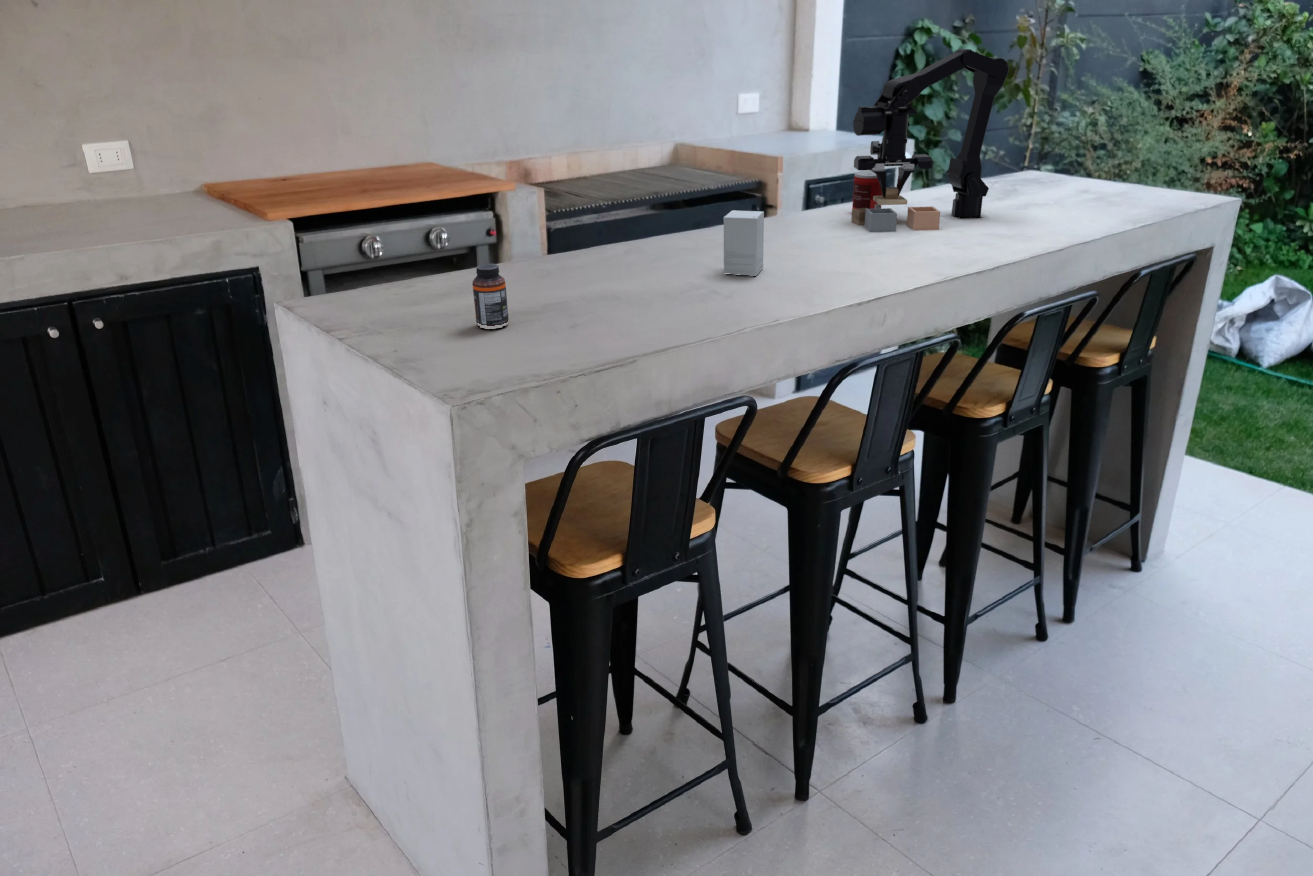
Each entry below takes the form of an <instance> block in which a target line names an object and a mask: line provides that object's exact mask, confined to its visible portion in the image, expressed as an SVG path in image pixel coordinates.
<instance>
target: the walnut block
mask: <svg viewBox="0 0 1313 876" xmlns="http://www.w3.org/2000/svg"><path fill="white" fill-rule="evenodd" d="M866 209H868V208H858V209H852V208H851V220H850V222H851V223H852V224H854V225H856V226H864V224H865V210H866Z"/></svg>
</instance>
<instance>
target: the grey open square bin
mask: <svg viewBox="0 0 1313 876" xmlns="http://www.w3.org/2000/svg"><path fill="white" fill-rule="evenodd" d="M897 219H898V213H897V212H896V211H894V209H892V208H891V207H889V208H887V207H886V208H884V207H883V208H881V209H866V210H865V224H864V225H863V226H864V228H865V229H866V230H867V231H869V233H889V232H890V233H891V232H894V233H895V232H896V231H897V221H898V220H897Z"/></svg>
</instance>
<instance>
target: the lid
mask: <svg viewBox="0 0 1313 876" xmlns="http://www.w3.org/2000/svg"><path fill="white" fill-rule="evenodd" d="M896 187H897V186H886V195H885V197H883V196H874V197H873V200H874V201H875V202H876V203H878V204H879V205H881V206H894V205H895V206H897V205H904V206H905V205H908V200H907V199H906V198H905V197H904V196H902V195H901V194H899V196H898V188H896Z"/></svg>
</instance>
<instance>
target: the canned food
mask: <svg viewBox="0 0 1313 876" xmlns="http://www.w3.org/2000/svg"><path fill="white" fill-rule="evenodd" d="M852 191H853V192H852V207H851V210H852V209H858V208H868V209H882V205H879V204H878V203H876V202H875V201H874V200H873V197H874V196H882V192H881V188H880V184H879V181H878V178H877V175H876V173H873V172H872V171H871V170H858V171H857V172H854V174H853V190H852Z"/></svg>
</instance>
